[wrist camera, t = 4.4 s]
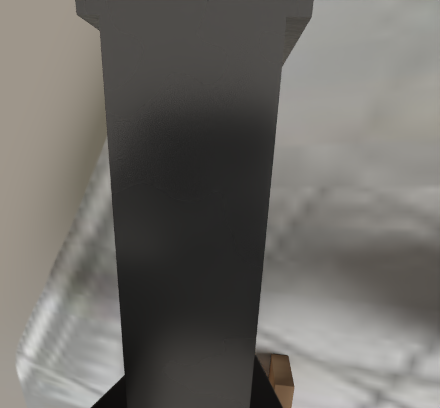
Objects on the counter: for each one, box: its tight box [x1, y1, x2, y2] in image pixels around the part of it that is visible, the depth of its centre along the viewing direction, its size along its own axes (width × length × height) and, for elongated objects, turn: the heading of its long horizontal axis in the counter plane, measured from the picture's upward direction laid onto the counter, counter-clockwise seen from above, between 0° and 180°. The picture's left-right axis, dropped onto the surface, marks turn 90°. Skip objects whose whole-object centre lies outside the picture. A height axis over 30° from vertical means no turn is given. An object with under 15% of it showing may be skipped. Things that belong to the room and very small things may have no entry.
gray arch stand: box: [75, 0, 314, 408], centre depth 9 cm, size 7×20×8 cm, turn 178°
